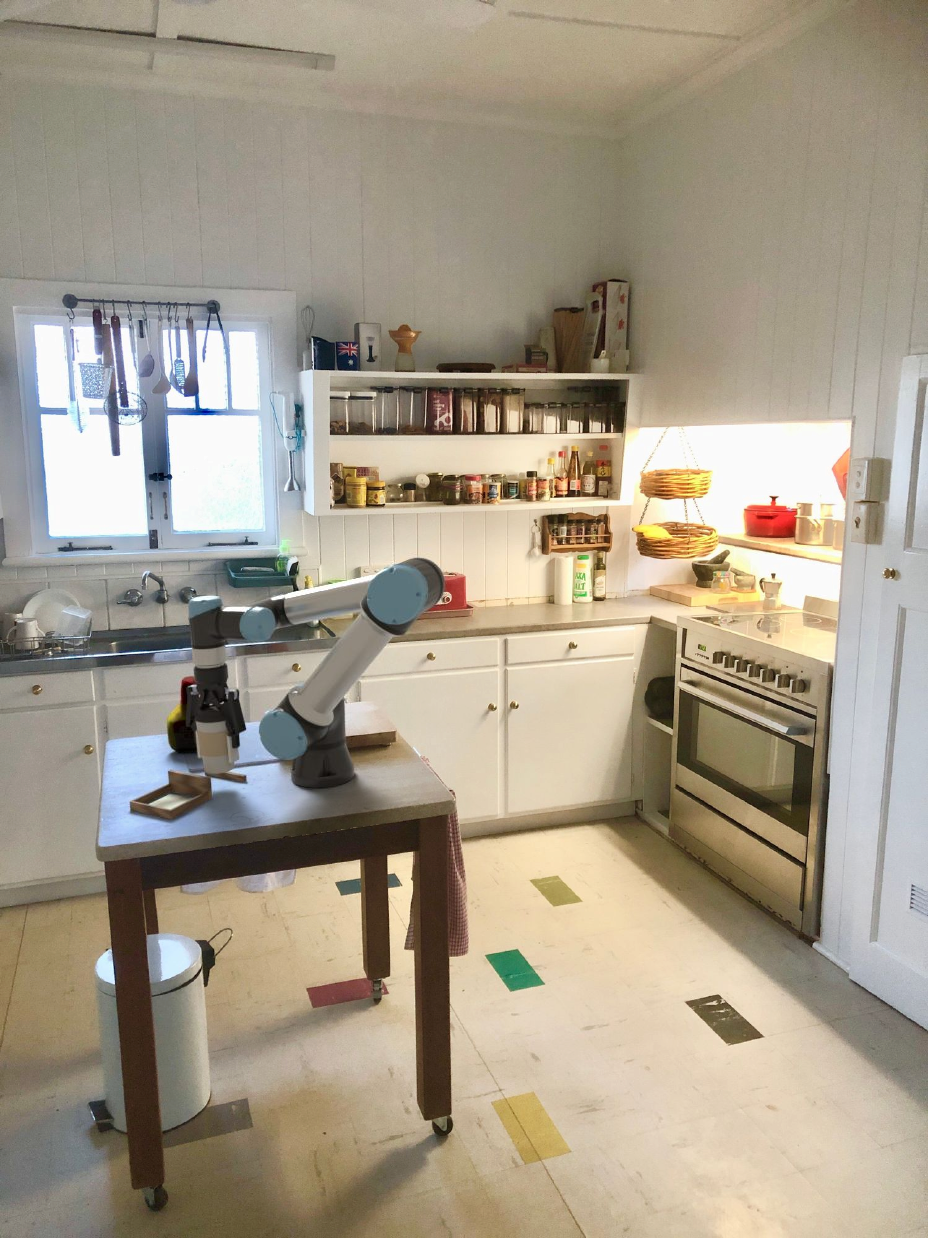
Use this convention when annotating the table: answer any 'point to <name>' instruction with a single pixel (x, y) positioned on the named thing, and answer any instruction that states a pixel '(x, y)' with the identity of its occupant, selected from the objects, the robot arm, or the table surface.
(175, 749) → the bottle
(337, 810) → the table surface
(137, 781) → the table surface
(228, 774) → the rail
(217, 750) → the coffee cup
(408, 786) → the table surface
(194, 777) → the tray
